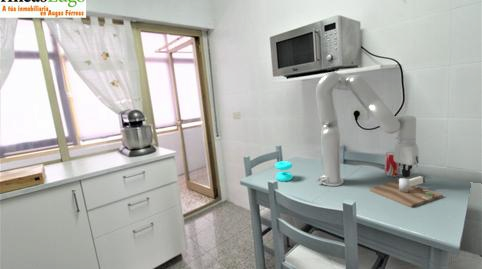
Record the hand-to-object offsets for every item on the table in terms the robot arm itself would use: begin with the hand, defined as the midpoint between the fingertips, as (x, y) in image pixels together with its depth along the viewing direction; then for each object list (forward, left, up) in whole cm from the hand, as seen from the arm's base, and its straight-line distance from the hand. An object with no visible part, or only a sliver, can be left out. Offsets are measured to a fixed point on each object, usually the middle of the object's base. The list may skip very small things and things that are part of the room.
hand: (406, 176), depth 122 cm
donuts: (-46, +42, -5) cm, 62 cm away
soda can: (+7, +13, -5) cm, 16 cm away
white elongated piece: (-4, -6, -3) cm, 8 cm away
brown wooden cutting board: (-9, -6, -5) cm, 12 cm away
